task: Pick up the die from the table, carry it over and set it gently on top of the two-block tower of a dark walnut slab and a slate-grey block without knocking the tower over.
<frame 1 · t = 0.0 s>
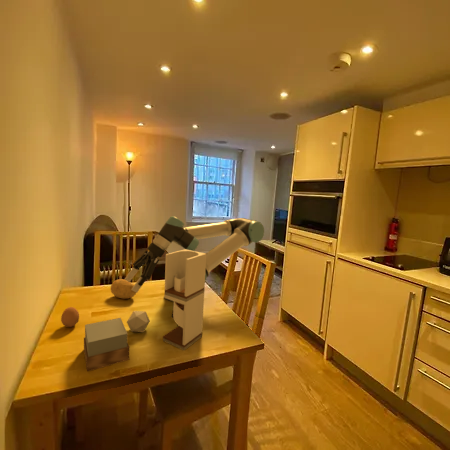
hand: (130, 285, 117), 15 cm above the table, tool tilted 35°, fingers open, 13 cm apart
potato: (123, 298, 140), on the table
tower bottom: (106, 355, 93), on the table, touching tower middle
egg: (70, 326, 110), on the table
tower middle: (105, 342, 93), point 5 cm above the table, touching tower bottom
display case: (182, 339, 106), on the table
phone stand: (182, 319, 121), on the table
die: (138, 330, 110), on the table
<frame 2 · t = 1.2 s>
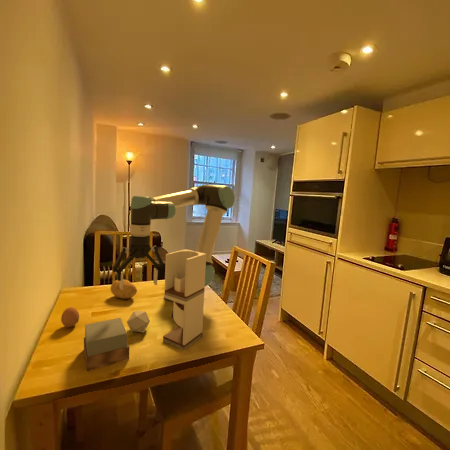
hand: (138, 286, 107), 19 cm above the table, tool pointing down, fingers open, 13 cm apart
nothing on the table moved.
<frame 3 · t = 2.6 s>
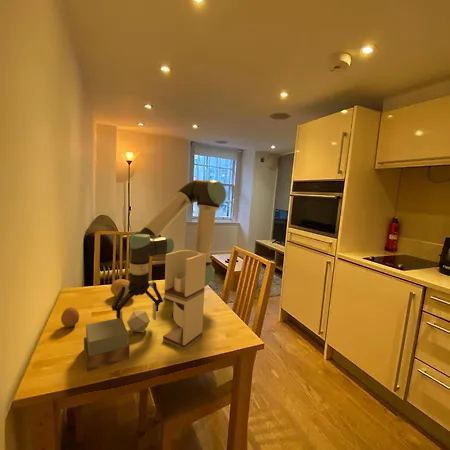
hand: (137, 322, 109), 4 cm above the table, tool pointing down, fingers open, 13 cm apart
nothing on the table moved.
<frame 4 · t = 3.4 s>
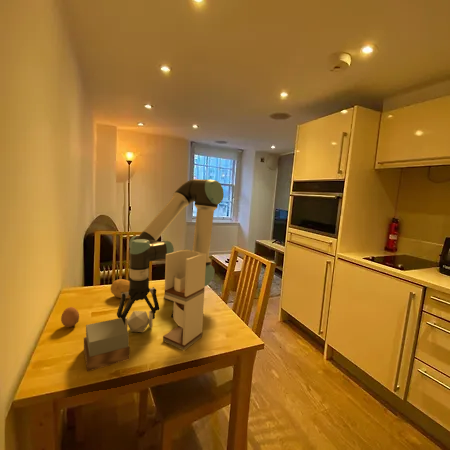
hand: (138, 329, 110), 0 cm above the table, tool pointing down, fingers closed on die, 9 cm apart
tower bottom: (106, 355, 93), on the table
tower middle: (106, 342, 93), point 5 cm above the table
die: (138, 330, 110), on the table, touching gripper
everything else where it was.
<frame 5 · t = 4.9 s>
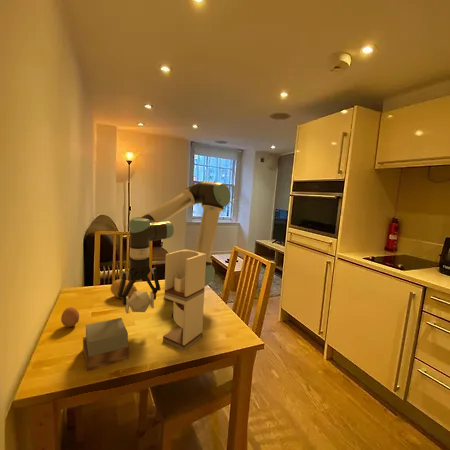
hand: (139, 309, 109), 9 cm above the table, tool pointing down, fingers closed on die, 9 cm apart
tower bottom: (105, 355, 93), on the table, touching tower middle
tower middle: (106, 342, 92), point 5 cm above the table, touching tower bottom
die: (139, 310, 109), point 8 cm above the table, touching gripper
everything else where it was.
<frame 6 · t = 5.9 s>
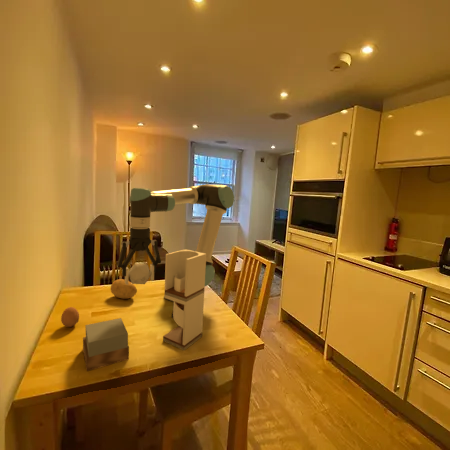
hand: (139, 281, 107), 21 cm above the table, tool pointing down, fingers closed on die, 9 cm apart
die: (139, 283, 107), point 20 cm above the table, touching gripper
everything else where it was.
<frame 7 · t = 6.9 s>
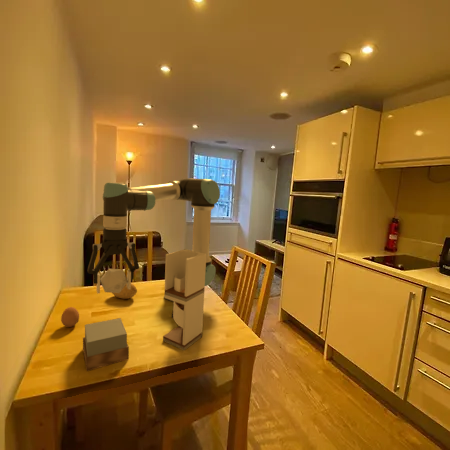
hand: (113, 289, 94), 22 cm above the table, tool pointing down, fingers closed on die, 9 cm apart
die: (113, 291, 94), point 22 cm above the table, touching gripper
everything else where it was.
when the fingers open (11 cm above the table, at t = 10.0 s): die drops 2 cm, resting on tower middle.
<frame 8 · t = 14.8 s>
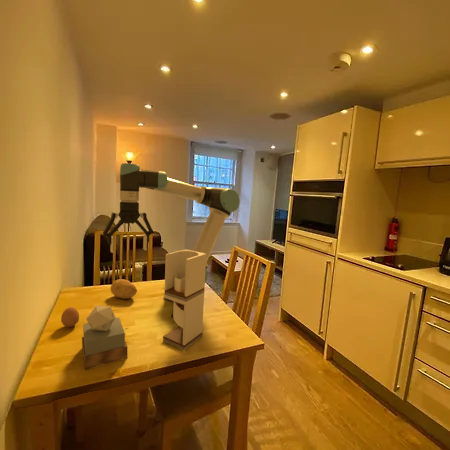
hand: (128, 250, 113), 32 cm above the table, tool pointing down, fingers open, 13 cm apart
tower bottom: (104, 354, 94), on the table
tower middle: (103, 341, 93), point 4 cm above the table, touching die
die: (101, 329, 92), point 9 cm above the table, touching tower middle
everything else where it was.
at the end: die inside the target area on the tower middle (0.7 cm from its centre), point 4.8 cm above the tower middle's base; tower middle tilted 0°; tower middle 0.2 cm off-centre on the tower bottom, point 5.0 cm above the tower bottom's base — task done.
